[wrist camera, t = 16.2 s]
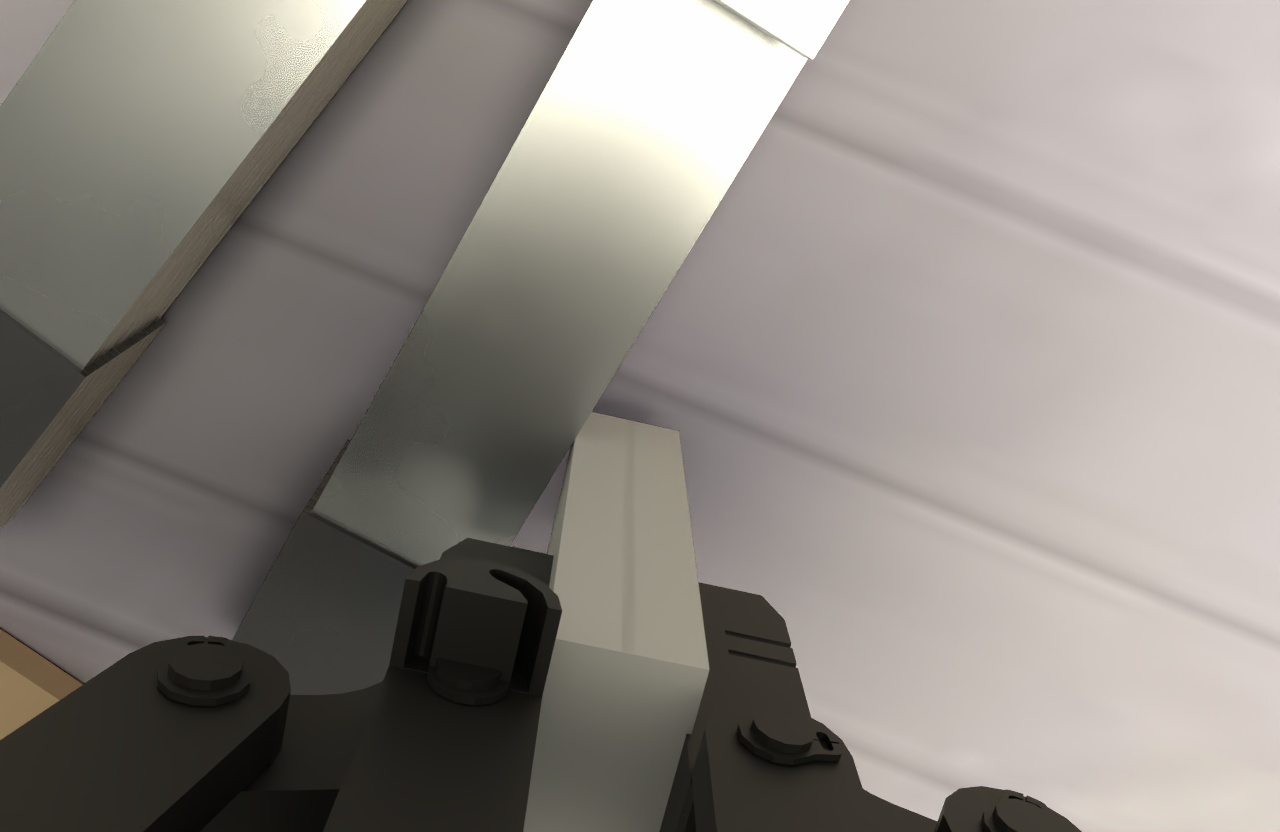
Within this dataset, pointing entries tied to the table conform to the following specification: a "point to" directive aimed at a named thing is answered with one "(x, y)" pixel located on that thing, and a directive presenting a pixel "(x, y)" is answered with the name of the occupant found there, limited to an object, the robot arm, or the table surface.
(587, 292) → the tong jaw
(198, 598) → the table surface
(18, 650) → the cork mat
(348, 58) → the tongs base
